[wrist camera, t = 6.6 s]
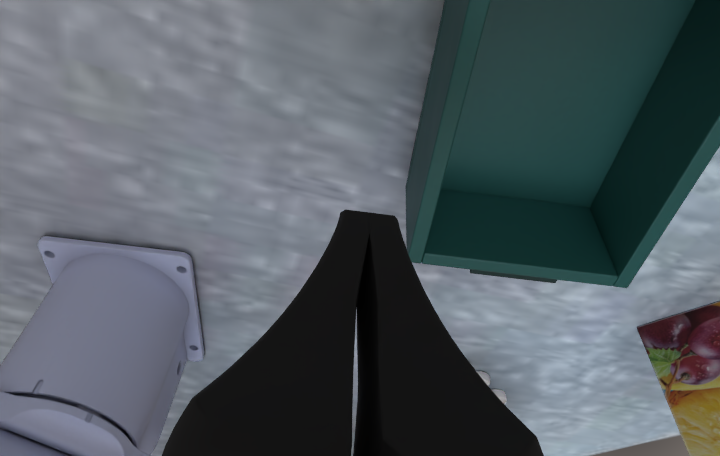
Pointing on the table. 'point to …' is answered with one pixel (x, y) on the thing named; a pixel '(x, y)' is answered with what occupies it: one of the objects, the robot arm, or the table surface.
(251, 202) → the table surface
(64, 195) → the table surface
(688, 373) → the juice carton
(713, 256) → the table surface
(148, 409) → the robot arm
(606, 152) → the teal open crate
